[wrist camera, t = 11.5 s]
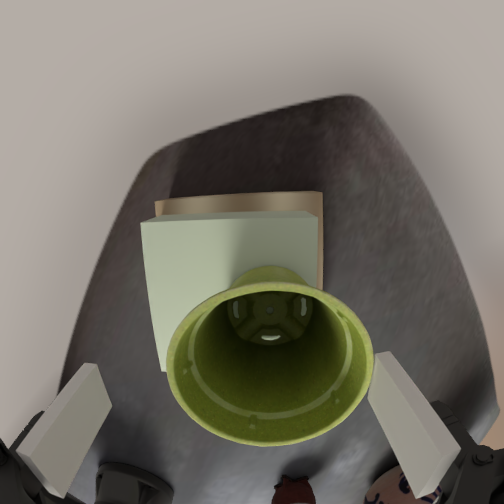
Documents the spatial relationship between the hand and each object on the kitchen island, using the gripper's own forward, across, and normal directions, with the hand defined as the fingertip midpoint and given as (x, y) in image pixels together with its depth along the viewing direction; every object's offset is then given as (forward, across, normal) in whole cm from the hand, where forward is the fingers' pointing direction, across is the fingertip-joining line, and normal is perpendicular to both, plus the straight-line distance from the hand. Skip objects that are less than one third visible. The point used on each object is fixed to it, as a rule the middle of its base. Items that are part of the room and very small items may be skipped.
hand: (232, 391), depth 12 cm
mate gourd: (+19, +5, -39) cm, 43 cm away
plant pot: (+9, +2, 0) cm, 9 cm away
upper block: (+14, 0, +1) cm, 14 cm away
